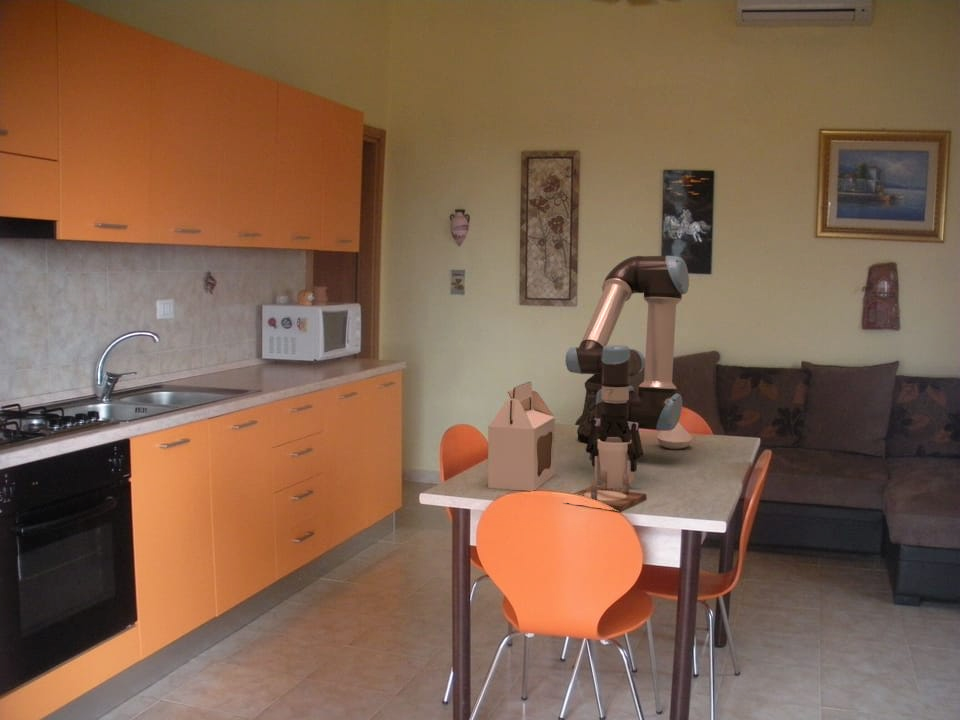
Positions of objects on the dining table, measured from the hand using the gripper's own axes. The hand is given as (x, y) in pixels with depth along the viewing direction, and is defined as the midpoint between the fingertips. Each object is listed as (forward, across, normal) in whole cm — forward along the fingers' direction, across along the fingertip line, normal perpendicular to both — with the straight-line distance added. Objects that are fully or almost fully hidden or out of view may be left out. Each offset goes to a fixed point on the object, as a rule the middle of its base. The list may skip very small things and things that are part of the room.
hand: (613, 480), depth 264 cm
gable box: (+2, -24, -10) cm, 26 cm away
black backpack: (+2, -34, +61) cm, 70 cm away
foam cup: (+2, 0, 0) cm, 2 cm away
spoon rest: (+2, -11, +69) cm, 70 cm away
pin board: (+2, +6, -17) cm, 18 cm away
